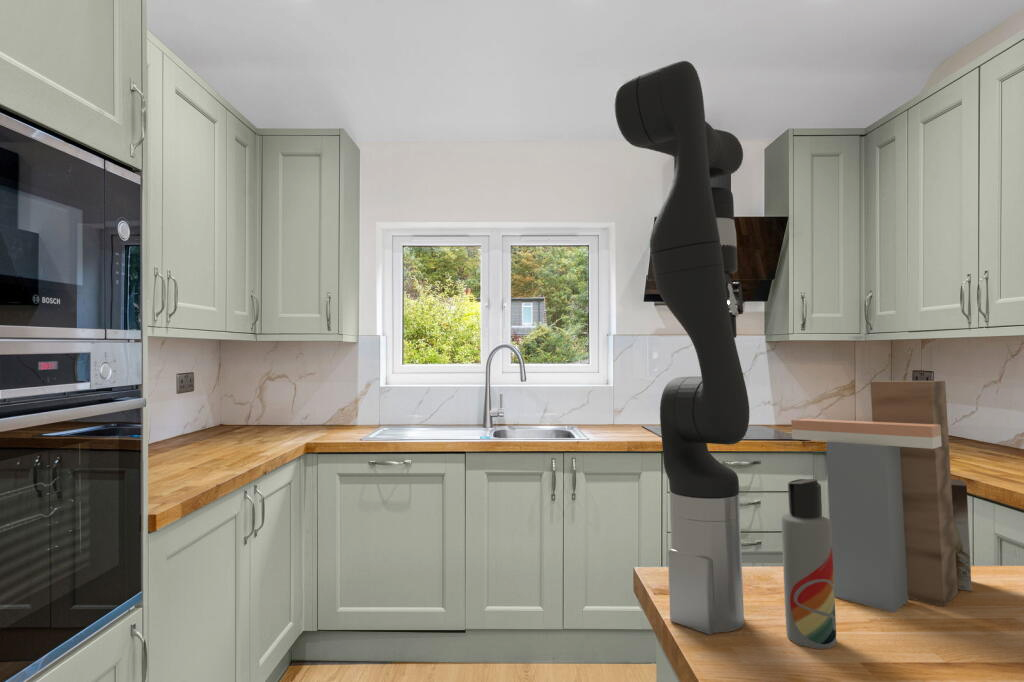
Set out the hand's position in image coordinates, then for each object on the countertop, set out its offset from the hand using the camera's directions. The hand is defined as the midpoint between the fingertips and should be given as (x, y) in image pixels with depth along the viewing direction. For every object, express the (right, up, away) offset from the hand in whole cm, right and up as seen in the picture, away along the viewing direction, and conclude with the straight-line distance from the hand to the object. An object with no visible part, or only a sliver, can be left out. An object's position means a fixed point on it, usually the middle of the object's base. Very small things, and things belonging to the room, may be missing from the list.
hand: (717, 337), depth 105 cm
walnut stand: (+25, -39, -16) cm, 49 cm away
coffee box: (+31, -39, -11) cm, 51 cm away
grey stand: (+16, -39, -18) cm, 46 cm away
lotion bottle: (+1, -39, -31) cm, 49 cm away
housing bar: (+16, -16, -16) cm, 28 cm away
